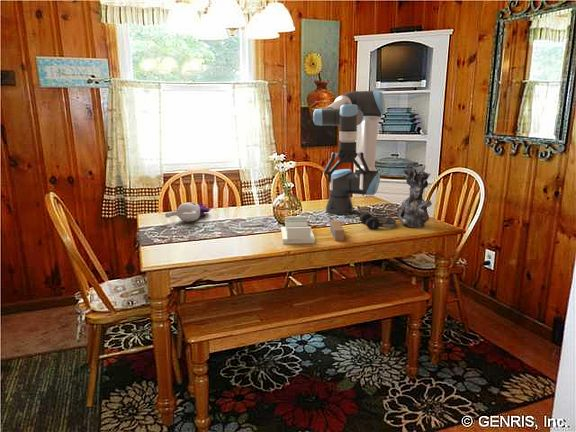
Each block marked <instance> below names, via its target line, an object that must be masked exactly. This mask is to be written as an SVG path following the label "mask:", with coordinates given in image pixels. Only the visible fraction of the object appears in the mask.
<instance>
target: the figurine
mask: <svg viewBox="0 0 576 432" xmlns="http://www.w3.org/2000/svg"><path fill="white" fill-rule="evenodd" d="M207 205H208V204H207V203H195V202H183V203H181V204H180V205H179V206H178V208H177V210H176V211H167V212H165V214H164V216H165V218H167V219H169V218H171V217H174V216H176V217H178V218H179V219H180V221H183V222H186V223H187V222H188V223H189V222H194V221H197V220H198V219H199V218H200V216H202V217H203V216H206V215H208V214H209V212H210V211H211V210H212V208H211V207H210V206H208V207H207Z"/></svg>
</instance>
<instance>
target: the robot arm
mask: <svg viewBox="0 0 576 432" xmlns="http://www.w3.org/2000/svg"><path fill="white" fill-rule="evenodd" d="M385 101H386V100H385V96H384V94H383V92H382V91H378V90H364V91H363V90H362V91H361V90H360V91H359V90H358V91H357V90H353V91H348V92H346V93H343V94H341V95H339V96H338V97H336V98H335V100H334V101H333V102H332V103H331V104H329V105H327V106H326V107H325V108H322V107H321V108H315V109H314V110H313V115H312V120H313V124H314V125H315V126H321V127H323V126H335V127H336V126H338V127H339V131H338V133H339V135H338V136H339V137H338V140H339V142H338V152H334V151H332V152H331V155H330V159H329V160H328V162H327V164H326V166H325V168H324V170H323V174H325V175H327V183H329V189H328V190H329V194H328V195H329V198H328V200H327V203H326V207H325V212H326V213H328V214H332V215H349V214H353V213H354V206H353V202H352V197H351V196H352V195H364V196H374V195H376V193H377V192H378V190H379V186H380V182H381V181H380V180H381V174H380V173H378V169H377V168H376V155H377V154H376V153H377V143H378V142H377V140H378V126H379V125H378V124H379V121H380V119H382V115H384V114H385V112H386V111H385V110H386V103H385ZM359 125H360V137H359V138H360V139H359V152H357V142H356V141H357V136H358V126H359ZM337 157H338V160H337V161H336V162H335V164H334V165H333V166H332V164H333V163H334V160H335V159H336V158H337ZM357 157H358V161H357V160H356V158H357ZM347 163H348V164H351V163H353V164H354V165H355V167H356V168H355V172H354V171H353V172H352V169H351V168H344V169H343V168H342V169H338V167H340V165H341V164H347ZM331 166H332V167H331ZM351 194H352V195H351Z"/></svg>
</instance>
